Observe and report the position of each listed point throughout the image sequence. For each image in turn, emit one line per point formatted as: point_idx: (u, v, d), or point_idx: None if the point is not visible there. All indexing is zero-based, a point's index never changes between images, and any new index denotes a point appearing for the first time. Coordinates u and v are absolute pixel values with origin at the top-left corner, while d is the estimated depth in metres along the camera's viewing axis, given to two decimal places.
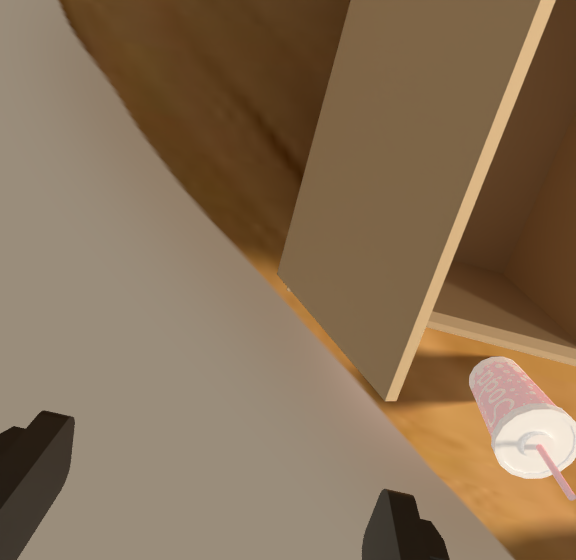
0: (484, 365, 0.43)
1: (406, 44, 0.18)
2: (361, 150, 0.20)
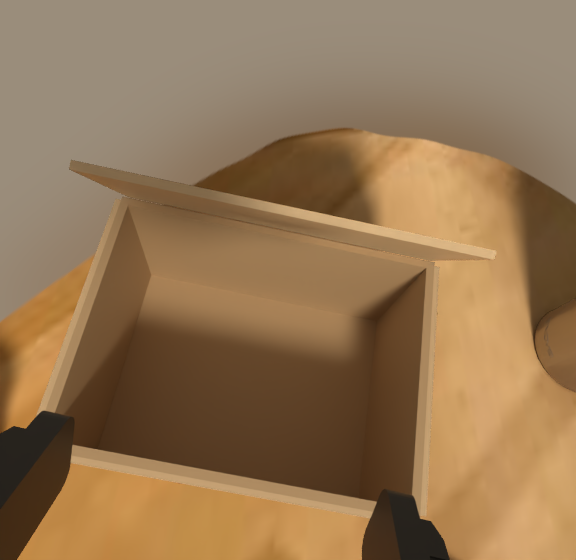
0: None
1: None
2: None
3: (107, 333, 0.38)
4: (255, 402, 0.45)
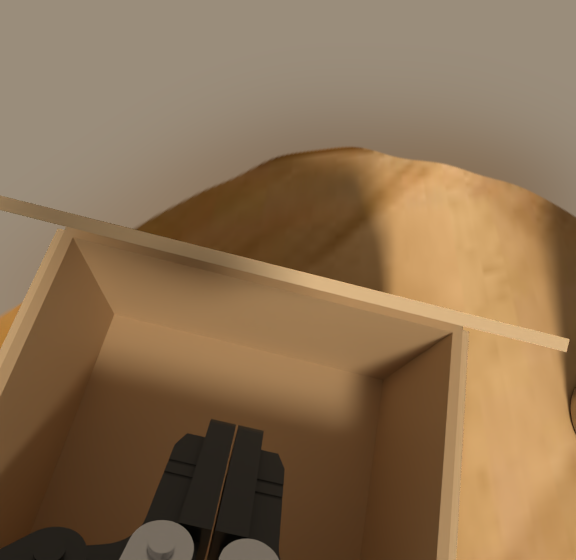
0: None
1: None
2: None
3: (40, 398, 0.30)
4: None
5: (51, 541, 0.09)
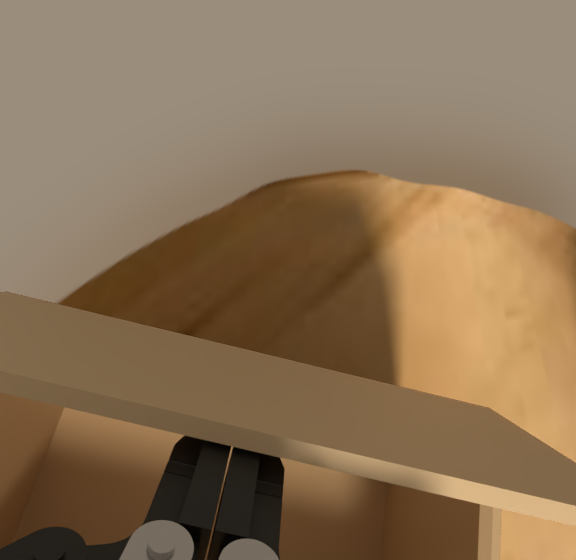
0: None
1: (250, 377, 0.18)
2: (144, 346, 0.18)
3: None
4: None
5: (51, 540, 0.09)
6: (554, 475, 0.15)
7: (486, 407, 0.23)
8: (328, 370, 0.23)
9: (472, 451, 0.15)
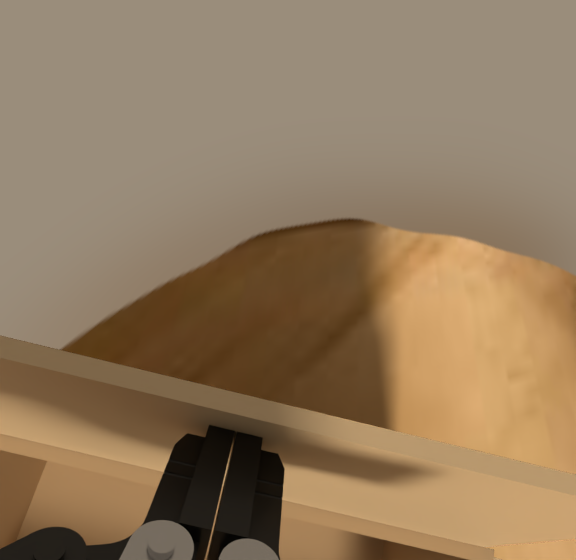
0: None
1: None
2: None
3: None
4: None
5: (51, 541, 0.09)
6: None
7: None
8: None
9: None
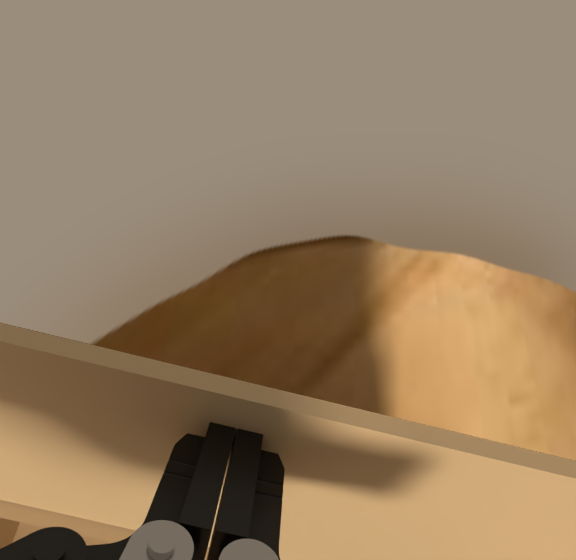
0: None
1: None
2: None
3: None
4: None
5: (51, 541, 0.09)
6: None
7: None
8: None
9: None
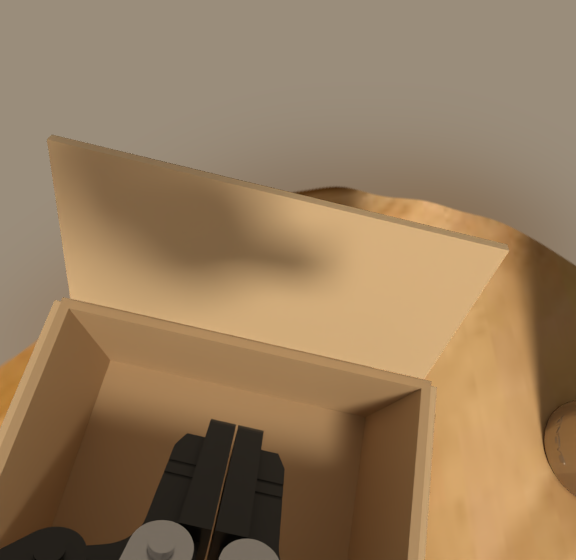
0: None
1: None
2: None
3: (41, 455, 0.32)
4: None
5: (51, 541, 0.09)
6: None
7: None
8: None
9: None
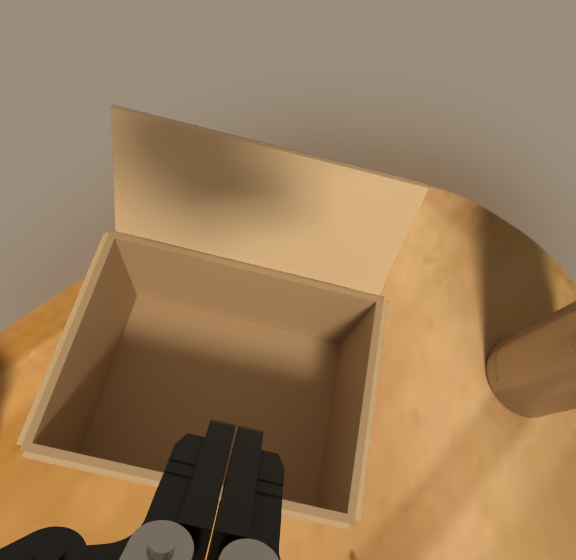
0: None
1: None
2: None
3: (92, 349, 0.43)
4: (225, 415, 0.50)
5: (51, 540, 0.09)
6: None
7: None
8: None
9: None
